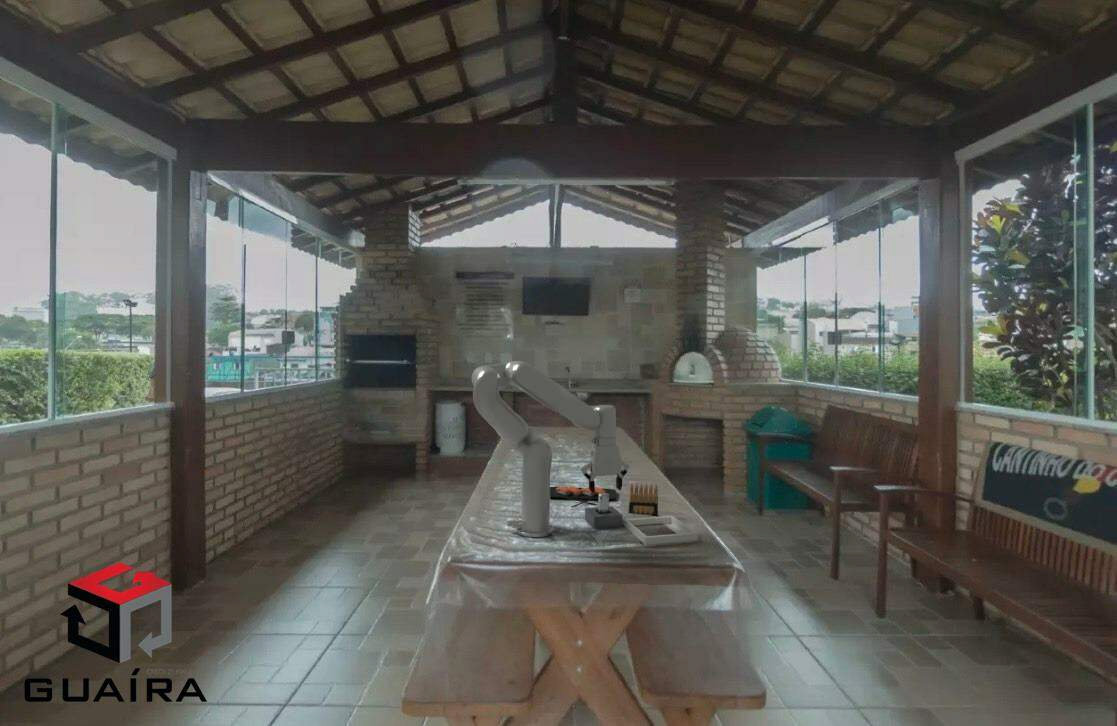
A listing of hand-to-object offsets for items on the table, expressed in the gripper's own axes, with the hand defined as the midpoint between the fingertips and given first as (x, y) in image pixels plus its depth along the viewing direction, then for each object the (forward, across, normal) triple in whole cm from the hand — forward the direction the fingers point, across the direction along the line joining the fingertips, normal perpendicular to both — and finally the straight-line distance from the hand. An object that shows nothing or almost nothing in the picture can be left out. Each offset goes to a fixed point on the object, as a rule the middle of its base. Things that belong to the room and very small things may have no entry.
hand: (605, 490), depth 201 cm
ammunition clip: (+13, +17, +7) cm, 22 cm away
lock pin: (+11, -1, 0) cm, 11 cm away
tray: (+13, +14, -13) cm, 23 cm away
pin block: (+12, -1, 0) cm, 12 cm away
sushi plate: (+13, 0, +30) cm, 33 cm away
